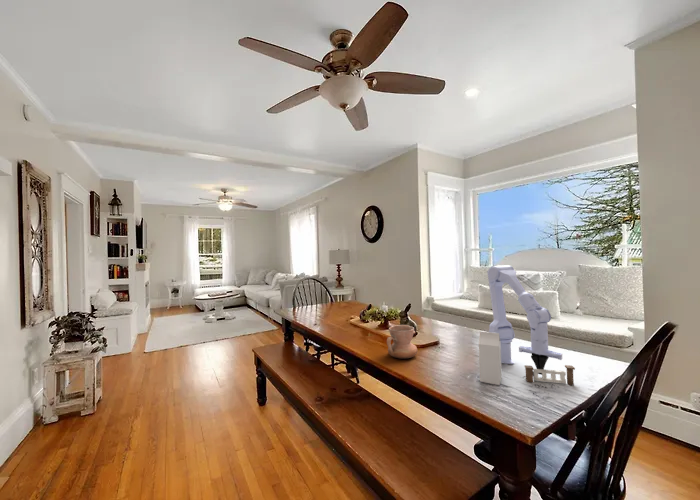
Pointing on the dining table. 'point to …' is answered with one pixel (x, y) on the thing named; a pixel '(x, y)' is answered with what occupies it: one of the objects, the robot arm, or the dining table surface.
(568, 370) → the hinge post
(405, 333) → the ceramic jug
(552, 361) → the dining table surface
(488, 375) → the milk carton
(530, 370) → the post
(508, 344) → the robot arm
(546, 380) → the gate
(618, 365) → the dining table surface
